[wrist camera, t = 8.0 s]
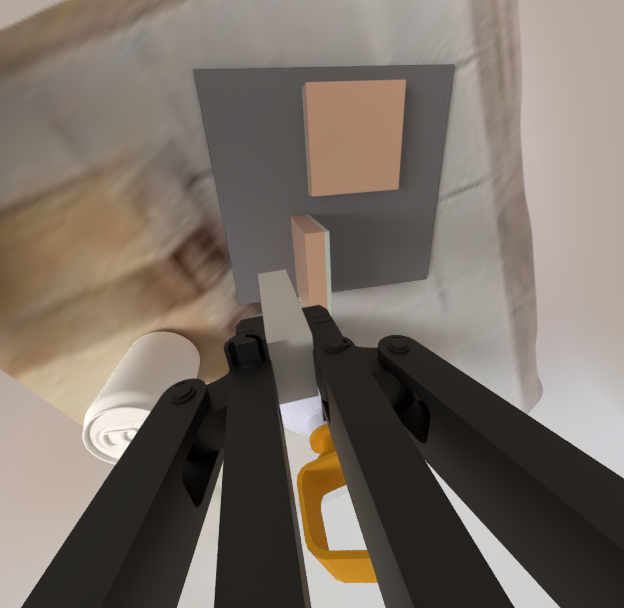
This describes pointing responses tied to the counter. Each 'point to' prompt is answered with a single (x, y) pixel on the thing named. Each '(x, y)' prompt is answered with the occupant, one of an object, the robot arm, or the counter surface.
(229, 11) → the counter surface
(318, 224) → the tile
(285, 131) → the mat
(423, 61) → the counter surface
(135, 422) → the beverage can
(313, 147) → the tile
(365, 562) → the soap bottle
